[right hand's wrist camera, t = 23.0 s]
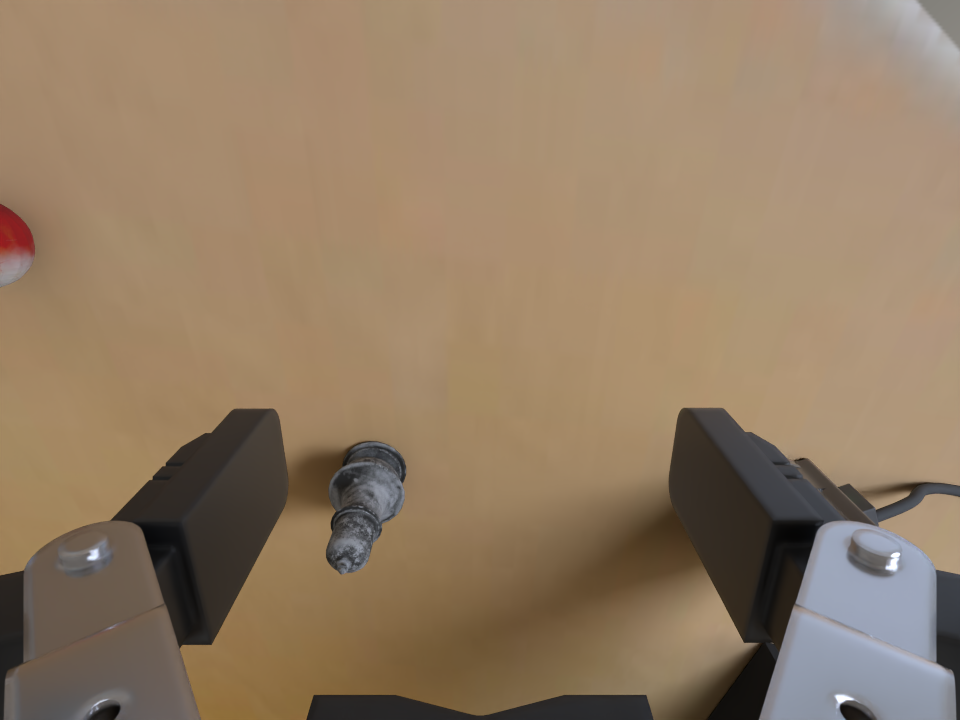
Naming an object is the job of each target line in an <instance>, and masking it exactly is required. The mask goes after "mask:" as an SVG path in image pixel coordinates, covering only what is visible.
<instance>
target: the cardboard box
mask: <svg viewBox="0 0 960 720" xmlns="http://www.w3.org/2000/svg"><path fill="white" fill-rule="evenodd" d="M778 656H779V652H778V650H777V648H776V647H775V645H774V644H771V643H763V645H762V646H761V647H760V649H759V650H758V651H757V653H756V654H755V655H754V657H753V658H752V660H751V661H750V662H749V664H748V665H747V666H746V668H745V669H744V670H743V672H742V673H741V675H740V676H739V677H738V679H737V680H736V681H735V683H734V684H733V685H732V687H731V688H730V690H729V691H728V692H727V694H726V695H725V696H724V698H723V699H722V700H721V702H720V703H719V705H718V706H717V707H716V709H715V710H714V711H713V713H712V714H711V715H710V717H709V718H708V720H759V718H760V715H761V711H762V708H763V705H764V702H765V698H766V695H767V692H768V688H769V685H770V682H771V679H772V675H773V672H774V669H775V665H776V662H777V659H778Z"/></svg>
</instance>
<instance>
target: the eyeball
mask: <svg viewBox="0 0 960 720" xmlns="http://www.w3.org/2000/svg"><path fill="white" fill-rule="evenodd" d="M34 256H35V246H34V241H33V237H32V234H31V232H30V229H29V228H28V226H27V225H26V223H25V222H24V221H23V220H22V219H21V218H20V217H19V216H18V215H16V214H15V213H14V212H13V211H11V210H10V209H9V208H7V207H5V206H3V205H1V204H0V287H2V286H5V285H8V284H11V283H13V282H15V281H17V280H18V279H20V278H21V277H22V276H23V275H24V274H25V273H26V272H27V271H28V269H29V268H30V267H31V265H32V263H33V260H34Z"/></svg>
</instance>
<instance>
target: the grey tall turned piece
mask: <svg viewBox="0 0 960 720" xmlns="http://www.w3.org/2000/svg"><path fill="white" fill-rule="evenodd" d="M405 476H406V465H405V462H404V459H403V458H402V456H401V455H400V453H398V452H397V451H396V450H395V449H394V448H392V447H391V446H389V445H387V444H384V443H380V442H365V443H361V444H359V445H356V446H354V447H353V448H352V449H351V450H350V451H349V452H348V453H347V455H346V456H345V458H344V461H343V467H342V468H341V469H339V470H338V471H337V472H336V473H335V474H334V476H333V477H332V479H331V481H330V485H329V498H330V501H331V504H332V506H333V507H334V508H335V510H336V511H337V512H335V514H334V515H333V517H332V520H331V530H332V535H331V538H330V540H329V543H328V546H327V549H326V558H327V561H328V562H329V564H330V565H331V566H332V567H333V568H334V569H335V570H337V571H338V572H339V573H340V574H344V573H352V572H355V571H358V570H360V569H361V568H363V567H364V566H365V564H366V563H367V561H368V559H369V556H370V552H371V548H372V544H373V542H375V541H376V540H377V539H378V538H379V536H380V534H381V531H382V523H385V522H387V521H389V520H391V519H392V518H393V517H395V516H396V515H397V514H398V512H399V511H400V510H401V508H402V505H403V502H404V488H403V485H402V483H403V482H404V479H405Z"/></svg>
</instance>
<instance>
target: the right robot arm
mask: <svg viewBox="0 0 960 720" xmlns="http://www.w3.org/2000/svg"><path fill="white" fill-rule="evenodd" d="M669 493H670V498H671V502H672V505H673V507H674V510H675V511H676V513H677V515H678V517H679V519H680V521H681V523H682V525H683V527H684V529H685V531H686V532H687V534H688V536H689V538H690V540H691V542H692V544H693V546H694V548H695V550H696V552H697V554H698V555H699V557H700V559H701V561H702V563H703V565H704V567H705V569H706V571H707V573H708V575H709V576H710V578H711V580H712V582H713V584H714V586H715V588H716V590H717V592H718V594H719V596H720V598H721V599H722V601H723V603H724V605H725V607H726V609H727V611H728V613H729V615H730V617H731V619H732V620H733V622H734V624H735V626H736V628H737V630H738V632H739V634H740V636H741V638H742V640H743V642H744V643H774V645H775V647H776V648H777V650H778V652H779V656H778V659H777V662H776V665H775V669H774V672H773V675H772V679H771V682H770V685H769V688H768V692H767V695H766V698H765V702H764V705H763V708H762V711H761V715H760V718H759V720H960V575H959V574H954V573H949V572H944V571H939V570H936V569H935V567H934V565H933V563H932V562H931V560H930V559H929V558H928V556H927V555H925V554H924V553H923V552H922V551H921V550H920V549H919V548H918V547H916V546H915V545H914V544H912V543H911V542H909V541H907V540H906V539H904V538H902V537H900V536H899V535H897V534H894V533H892V532H890V531H888V530H885V529H882V528H880V527H879V526H878V522H881V521H883V520H886V519H888V518H891V517H894V516H896V515H899V514H901V513H903V512H906V511H908V510H910V509H912V508H913V507H915V506H916V505H918V504H919V503H920V502H921V501H922V500H923V498H924V496H925V495H928V494H948V495H954V496H959V497H960V486H956V485H950V484H941V483H929V484H921V485H918V486H917V487H916V488H914V489H913V490H912V492H911V493H910V495H909V496H908V497H906V498H904V499H902V500H900V501H898V502H895V503H893V504H890V505H888V506H885V507H883V508H880V509H877V510H875V507H873V506H872V505H871V504H870V503H869V502H868V501H867V500H866V499H865V498H864V497H863V496H862V495H861V494H860V493H859V492H857V491H856V490H855V489H854V488H853V487H852V486H851V485H850V484H846V485H843V486H840V487H837V486H836V485H835V484H834V483H833V482H832V481H831V480H830V479H829V478H828V477H827V476H826V475H825V474H824V473H823V472H822V471H820V470H819V469H818V468H817V467H816V466H815V465H814V464H813V463H812V462H811V461H810V460H809V459H803V460H800V461H792V460H789V459H787V458H786V457H785V456H784V455H783V454H782V453H781V452H780V451H779V450H778V449H777V448H776V447H775V446H774V445H772V444H771V443H769V442H767V441H765V440H764V439H762V438H760V437H759V436H757V435H755V434H753V433H752V432H744V430H743V429H742V428H741V427H740V426H739V425H738V424H737V423H736V422H735V420H734V419H733V418H732V417H731V416H730V415H729V414H728V413H727V412H726V410H724V409H723V408H683V409H682V410H681V411H680V413H679V415H678V419H677V425H676V432H675V438H674V445H673V452H672V459H671V466H670V472H669ZM287 494H288V473H287V466H286V459H285V453H284V446H283V439H282V433H281V426H280V420H279V416H278V414H277V412H276V411H275V410H274V409H234V410H232V411H231V412H230V413H229V414H228V415H227V416H226V417H225V419H224V420H223V421H222V422H221V423H220V424H219V425H218V426H217V427H216V428H215V430H214V431H213V432H212V433H205V434H203V435H201V436H200V437H198V438H196V439H194V440H193V441H191V442H189V443H187V444H186V445H184V446H182V447H181V448H180V449H179V450H178V451H177V452H176V453H175V454H174V455H173V456H172V457H171V458H170V459H169V460H168V461H167V462H166V466H163V467H162V468H161V469H160V470H159V471H158V472H157V473H156V474H155V475H154V476H153V480H149V481H148V482H147V483H146V484H145V485H144V486H143V487H142V488H141V489H140V490H139V491H138V492H137V494H136V495H135V496H134V497H133V498H132V499H131V500H130V501H129V502H128V503H127V504H126V505H125V506H124V507H123V508H122V509H121V510H120V511H119V512H118V513H117V514H116V515H115V516H114V517H113V518H112V519H111V520H110V521H105V522H99V523H94V524H90V525H87V526H83V527H80V528H78V529H75V530H72V531H70V532H68V533H66V534H63V535H61V536H60V537H58V538H56V539H54V540H53V541H51V542H49V543H48V544H46V545H45V546H44V547H42V548H41V549H40V550H39V551H38V552H37V553H36V554H35V555H33V556H32V558H31V559H30V560H29V562H28V563H27V565H26V567H25V569H24V571H20V572H15V573H10V574H5V575H0V720H201V718H200V715H199V711H198V708H197V705H196V702H195V698H194V695H193V692H192V688H191V685H190V682H189V679H188V675H187V672H186V669H185V665H184V662H183V659H182V656H181V652H180V648H181V646H182V645H212V643H213V641H214V639H215V637H216V635H217V634H218V632H219V630H220V628H221V626H222V624H223V622H224V620H225V618H226V617H227V615H228V613H229V611H230V609H231V607H232V605H233V603H234V601H235V600H236V598H237V596H238V594H239V592H240V590H241V588H242V586H243V584H244V583H245V581H246V579H247V577H248V575H249V573H250V571H251V569H252V567H253V565H254V564H255V562H256V560H257V558H258V556H259V554H260V552H261V550H262V548H263V547H264V545H265V543H266V541H267V539H268V537H269V535H270V533H271V531H272V530H273V528H274V526H275V524H276V522H277V520H278V518H279V516H280V514H281V513H282V511H283V509H284V506H285V503H286V500H287ZM307 720H653V716H652V713H651V710H650V706H649V703H648V699H647V696H646V695H563V696H559V697H555V698H551V699H547V700H544V701H540V702H536V703H532V704H528V705H524V706H520V707H517V708H513V709H509V710H505V711H501V712H497V713H493V714H489V715H484V716H476V715H471V714H467V713H463V712H459V711H455V710H451V709H447V708H443V707H440V706H436V705H432V704H428V703H424V702H420V701H416V700H413V699H409V698H405V697H401V696H397V695H314V696H313V699H312V703H311V706H310V710H309V713H308V716H307Z"/></svg>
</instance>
